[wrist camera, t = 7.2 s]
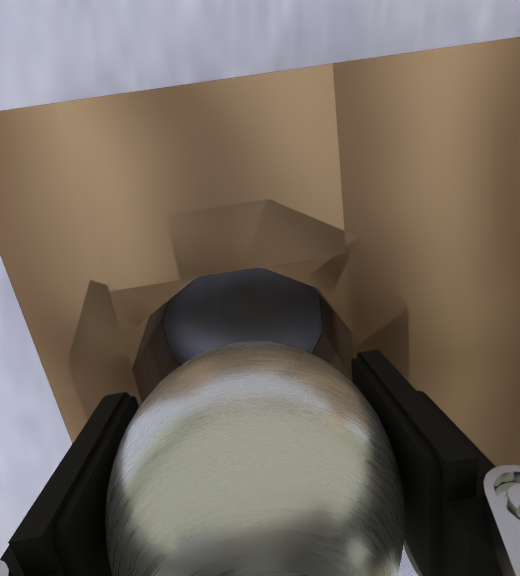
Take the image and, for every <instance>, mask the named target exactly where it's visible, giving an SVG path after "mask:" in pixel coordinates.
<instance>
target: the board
mask: <svg viewBox="0 0 520 576" xmlns="http://www.w3.org/2000/svg"><path fill="white" fill-rule="evenodd" d="M0 255H1V258H2V261H3V263H4V266H5V269H6V271H7V274H8V276H9V279H10V282H11V284H12V287H13V289H14V292H15V295H16V297H17V300H18V303H19V305H20V308H21V310H22V313H23V316H24V318H25V321H26V324H27V326H28V329H29V331H30V334H31V337H32V339H33V342H34V344H35V347H36V350H37V352H38V355H39V358H40V360H41V363H42V365H43V368H44V371H45V373H46V376H47V378H48V381H49V384H50V386H51V389H52V392H53V394H54V397H55V399H56V402H57V405H58V407H59V410H60V412H61V415H62V418H63V420H64V423H65V426H66V428H67V431H68V433H69V436H70V439H71V441H72V444H73V443H74V441H75V439H76V438H77V436H78V435H79V433H80V432H81V430H82V429H83V427H84V426H85V424H86V423H87V421H88V420H89V418H90V416H91V415H92V413H93V412H94V410H95V409H96V407H97V406H98V404H99V403H100V401H101V400H102V398H103V397H104V396H105V395H110V394H116V393H122V392H127V393H128V394H129V395H130V396H135V397H136V399H137V402H138V406H139V407H140V405H141V404H142V402H143V401H144V400H145V399H146V398H147V397H148V395H149V394H150V393H151V392H152V391H153V390H154V388H155V387H156V386H157V385H158V384H159V383H160V382H161V381H162V380H163V379H164V378H165V377H166V376H167V375H169V374H170V373H171V372H172V371H173V370H175V369H176V368H178V367H179V365H178V364H177V363H176V362H175V361H174V360H173V359H172V358H171V355H170V351H169V347H168V343H167V339H166V335H165V331H164V327H163V323H162V316H163V313H164V310H165V307H166V305H167V302H168V300H170V299H171V298H172V297H173V296H175V295H176V294H177V293H178V292H179V291H181V290H182V289H183V288H184V287H186V286H187V285H188V284H189V283H191V282H192V281H193V280H194V279H196V278H197V277H202V276H208V275H214V274H221V273H227V272H233V271H239V270H246V269H252V268H258V267H262V268H264V269H267V270H270V271H272V272H275V273H278V274H280V275H283V276H286V277H288V278H291V279H294V280H296V281H299V282H302V283H304V284H307V285H310V286H312V287H314V288H315V289H316V290H317V292H318V293H319V300H320V310H321V320H322V330H323V333H322V335H321V337H320V339H319V341H318V343H317V345H316V347H315V349H314V352H313V355H315V356H317V357H319V358H321V359H322V360H324V361H326V362H328V363H329V364H331V365H332V366H333V367H335V368H336V369H337V370H338V371H340V372H341V373H342V374H343V375H344V376H346V377H347V378H348V379H349V380H350V381H351V382H352V383H353V381H352V367H351V360H352V359H353V358H357V353H358V352H364V351H370V350H376V349H378V350H379V351H380V352H381V353H382V354H383V355H384V356H385V357H386V358H387V359H388V360H389V361H390V362H391V364H392V365H393V366H394V367H395V368H396V369H397V370H398V371H399V372H400V373H401V374H402V375H403V377H404V378H405V379H406V380H407V381H408V382H409V383H410V384H411V385H412V386H413V387H414V388H415V390H416V391H423V392H424V393H425V394H427V395H428V396H429V397H430V398H431V399H432V400H433V401H434V403H435V404H436V405H437V406H438V407H439V408H440V409H441V410H442V411H443V412H444V413H445V414H446V415H447V416H448V417H449V418H450V419H451V420H452V421H453V422H454V423H455V424H456V426H457V427H458V428H459V429H460V430H461V431H462V432H463V433H464V434H465V435H466V436H467V437H468V438H469V439H470V440H471V441H472V442H473V443H474V444H475V445H476V446H477V447H478V448H479V450H480V451H481V452H482V453H483V454H484V455H485V456H486V457H487V458H488V459H489V460H490V461H491V462H492V463H493V464H494V465H495V466H496V467H499V466H502V465H519V466H520V37H516V38H509V39H502V40H495V41H488V42H481V43H474V44H467V45H460V46H453V47H446V48H439V49H432V50H425V51H417V52H410V53H403V54H396V55H389V56H382V57H375V58H368V59H361V60H354V61H347V62H340V63H333V64H326V65H319V66H312V67H305V68H298V69H291V70H284V71H277V72H270V73H263V74H256V75H249V76H242V77H235V78H228V79H221V80H214V81H207V82H200V83H193V84H186V85H178V86H171V87H164V88H157V89H150V90H143V91H136V92H129V93H122V94H115V95H108V96H101V97H94V98H87V99H80V100H73V101H66V102H59V103H52V104H45V105H38V106H31V107H24V108H17V109H10V110H3V111H0Z"/></svg>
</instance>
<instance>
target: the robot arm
mask: <svg viewBox="0 0 520 576" xmlns="http://www.w3.org/2000/svg"><path fill="white" fill-rule="evenodd" d="M351 367H352V381H353V384H354V385H355V386H356V387H357V388H358V389H359V390H360V392H361V393H362V394H363V395H364V397H365V398H366V399H367V401H368V402H369V403H370V405H371V406H372V408H373V409H374V411H375V412H376V413H377V415H378V417H379V419H380V421H381V423H382V425H383V427H384V429H385V431H386V433H387V435H388V437H389V439H390V442H391V445H392V447H393V450H394V453H395V456H396V460H397V463H398V467H399V470H400V475H401V481H402V487H403V494H404V503H405V531H404V539H405V541H406V543H407V545H408V547H409V549H410V552H411V554H412V556H413V558H414V560H415V562H416V564H417V566H418V568H419V570H420V572H421V574H422V576H520V466H519V465H502V466H499V467H496V466H495V465H494V464H493V463H492V462H491V461H490V460H489V459H488V458H487V457H486V456H485V455H484V454H483V453H482V452H481V451H480V450H479V448H478V447H477V446H476V445H475V444H474V443H473V442H472V441H471V440H470V439H469V438H468V437H467V436H466V435H465V434H464V433H463V432H462V431H461V430H460V429H459V428H458V427H457V426H456V424H455V423H454V422H453V421H452V420H451V419H450V418H449V417H448V416H447V415H446V414H445V413H444V412H443V411H442V410H441V409H440V408H439V407H438V406H437V405H436V404H435V403H434V401H433V400H432V399H431V398H430V397H429V396H428V395H427V394H425V393H424V392H423V391H416V390H415V388H414V387H413V386H412V385H411V384H410V383H409V382H408V381H407V380H406V379H405V378H404V377H403V375H402V374H401V373H400V372H399V371H398V370H397V369H396V368H395V367H394V366H393V365H392V364H391V362H390V361H389V360H388V359H387V358H386V357H385V356H384V355H383V354H382V353H381V352H380V351H379V350H378V349H376V350H370V351H364V352H358V353H357V358H353V359H352V360H351ZM138 409H139V406H138V402H137V399H136V397H135V396H130V395H129V394H128V393H127V392H122V393H116V394H110V395H105V396H104V397H103V398H102V400H101V401H100V403H99V404H98V406H97V407H96V409H95V410H94V412H93V413H92V415H91V416H90V418H89V420H88V421H87V423H86V424H85V426H84V427H83V429H82V430H81V432H80V433H79V435H78V436H77V438H76V439H75V441H74V443H73V444H72V446H71V447H70V449H69V450H68V452H67V453H66V455H65V456H64V458H63V459H62V461H61V462H60V464H59V466H58V467H57V469H56V470H55V472H54V473H53V475H52V476H51V478H50V479H49V481H48V482H47V484H46V485H45V487H44V489H43V490H42V492H41V493H40V495H39V496H38V498H37V499H36V501H35V502H34V504H33V505H32V507H31V508H30V510H29V511H28V513H27V515H26V516H25V518H24V519H23V521H22V522H21V524H20V525H19V527H18V528H17V530H16V531H15V533H14V534H13V536H12V538H11V539H10V541H9V542H8V543H9V546H8V548H7V549H6V551H5V553H4V554H3V556H2V557H1V559H0V576H113V574H112V571H111V568H110V564H109V557H108V549H107V541H106V532H105V517H106V499H107V490H108V485H109V480H110V474H111V470H112V466H113V462H114V459H115V456H116V453H117V450H118V448H119V445H120V443H121V440H122V438H123V436H124V433H125V431H126V429H127V427H128V425H129V423H130V422H131V420H132V418H133V417H134V415H135V413H136V412H137V410H138Z"/></svg>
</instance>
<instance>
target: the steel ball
mask: <svg viewBox="0 0 520 576" xmlns="http://www.w3.org/2000/svg"><path fill="white" fill-rule="evenodd" d="M404 531H405V503H404V494H403V487H402V481H401V475H400V470H399V467H398V463H397V460H396V456H395V453H394V450H393V447H392V445H391V442H390V439H389V437H388V435H387V433H386V431H385V429H384V427H383V425H382V423H381V421H380V419H379V417H378V415H377V413H376V412H375V411H374V409H373V408H372V406H371V405H370V403H369V402H368V401H367V399H366V398H365V397H364V395H363V394H362V393H361V392H360V390H359V389H358V388H357V387H356V386H355V385H354V384H353V383H352V382H351V381H350V380H349V379H348V378H347V377H346V376H344V375H343V374H342V373H341V372H340V371H338V370H337V369H336V368H335V367H333V366H332V365H331V364H329V363H328V362H326V361H324V360H322V359H321V358H319V357H317V356H315V355H313V354H311V353H309V352H307V351H304V350H302V349H299V348H297V347H294V346H290V345H286V344H283V343H276V342H269V341H245V342H236V343H231V344H227V345H222V346H219V347H216V348H213V349H210V350H207V351H205V352H203V353H201V354H199V355H197V356H195V357H193V358H191V359H189V360H188V361H187V362H185V363H184V364H182V365H181V366H179V367H178V368H176V369H175V370H173V371H172V372H171V373H170V374H169V375H167V376H166V377H165V378H164V379H163V380H162V381H161V382H160V383H159V384H158V385H157V386H156V387H155V388H154V390H153V391H152V392H151V393H150V394H149V395H148V397H147V398H146V399H145V400H144V401H143V402H142V404H141V405H140V407H139V409H138V410H137V412H136V413H135V415H134V417H133V418H132V420H131V422H130V423H129V425H128V427H127V429H126V431H125V433H124V436H123V438H122V440H121V443H120V445H119V448H118V450H117V453H116V456H115V459H114V462H113V466H112V470H111V474H110V480H109V485H108V490H107V499H106V517H105V532H106V541H107V549H108V557H109V564H110V568H111V571H112V574H113V576H397V574H398V570H399V566H400V562H401V557H402V549H403V542H404Z"/></svg>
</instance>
